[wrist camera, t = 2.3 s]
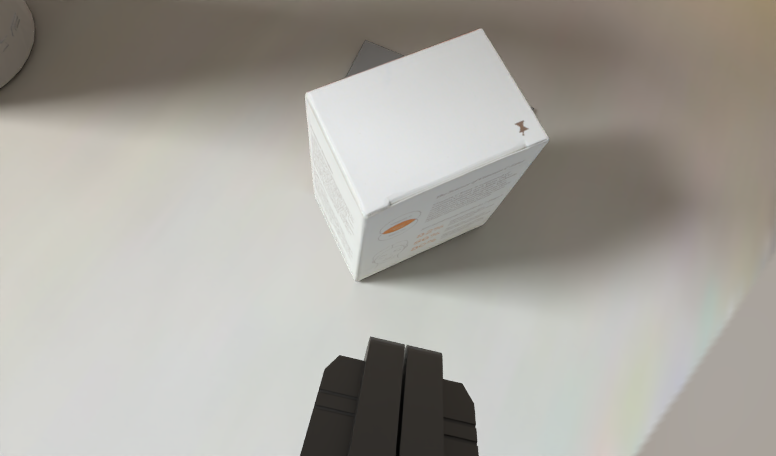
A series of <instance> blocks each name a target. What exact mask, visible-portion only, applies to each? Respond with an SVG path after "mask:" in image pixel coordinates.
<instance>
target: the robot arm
mask: <svg viewBox="0 0 776 456" xmlns="http://www.w3.org/2000/svg"><path fill="white" fill-rule="evenodd" d="M34 33H35V26H34V21H33V16H32V13H31V12H30V10H29V8H28V6H27V4H26V2H25V1H24V0H0V88H1V87H2V86H4V85H5V84H7V83H8V82H9V81H10V80H11V79H12V78H13V77H14V76H15V75H16V74H17V73H18V72H19V71H20V69H21V68H22V66H23V65H24V63H25V62H26V60H27V58H28V57H29V55H30V52H31V49H32V46H33V43H34ZM404 350H405V351H404ZM475 425H476V421H475V409H474V403H473V401H472V399H471V398H470V396H469V394H468V393H467V391H466V389H465V387H464V386H463V384H462V383H458V382H453V381H449V380H445V379H443V363H442V353H439V352H435V351H431V350H426V349H422V348H418V347H414V346H409V345H407V346H406V348H405V345H404V344H400V343H396V342H391V341H387V340H383V339H379V338H374V337H370V339H369V343H368V346H367V350H366V354H365V358H364V361H362V360H358V359H354V358H349V357H345V356H341V355H339V356H338V357H337V358H336V359H335V360H334V361H333V362H332V363H331V364H330V365H329V366H328V367H327V368H326V369H325V370H324V374H323V377H322V381H321V384H320V388H319V392H318V395H317V398H316V402H315V405H314V409H313V412H312V416H311V419H310V423H309V426H308V430H307V433H306V437H305V440H304V444H303V447H302V451H301V454H300V456H479V455H478V446H477V432H476V428H475Z"/></svg>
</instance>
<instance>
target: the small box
mask: <svg viewBox="0 0 776 456" xmlns="http://www.w3.org/2000/svg"><path fill="white" fill-rule="evenodd" d="M305 104H306V114H307V124H308V134H309V147H310V157H311V166H312V178H313V187H314V195H315V197H316V200H317V202H318V204H319V207H320V209H321V211H322V213H323V215H324V218H325V220H326V222H327V224H328V226H329V228H330V230H331V232H332V235H333V237H334V239H335V241H336V243H337V245H338V247H339V250H340V252H341V254H342V256H343V258H344V260H345V262H346V264H347V266H348V268H349V270H350V272H351V274H352V277H353V279H354V280H355V281H356V282H358V281H360V280H362V279H364V278H366V277H368V276H371V275H373V274H375V273H377V272H379V271H382V270H384V269H386V268H388V267H390V266H393V265H395V264H397V263H399V262H401V261H404V260H406V259H408V258H410V257H412V256H415V255H417V254H419V253H421V252H423V251H426V250H428V249H430V248H432V247H435V246H437V245H439V244H441V243H443V242H446V241H448V240H450V239H452V238H454V237H457V236H459V235H461V234H463V233H465V232H468V231H470V230H472V229H474V228H477V227H479V226H482V225H483V224H485V222H486V221H487V220H488V219H489V217H490V216H491V215H492V214H493V213H494V211H495V210H496V209H497V207H498V206H499V205H500V203H501V202H502V201H503V199H504V198H505V197H506V196H507V194H508V193H509V192H510V191H511V189H512V188H513V187H514V185H515V184H516V183H517V181H518V180H519V179H520V178H521V176H522V175H523V174H524V172H525V171H526V170H527V168H528V167H529V166H530V164H531V163H532V162H533V161H534V159H535V158H536V157H537V155H538V154H539V153H540V152H541V150H542V149H543V148H544V146H545V145H546V144H547V143H548V141H549V137H548V136H547V134H546V132H545V131H544V129H543V127H542V126H541V124H540V122H539V121H538V119H537V117H536V115H535V114H534V112H533V111H532V109H531V107H530V106H529V104H528V102H527V101H526V99H525V97H524V96H523V94H522V92H521V91H520V89H519V87H518V86H517V84H516V83H515V81H514V79H513V78H512V76H511V74H510V73H509V71H508V69H507V68H506V66H505V64H504V63H503V61H502V59H501V58H500V56H499V55H498V53H497V51H496V50H495V48H494V46H493V45H492V43H491V42H490V40H489V39H488V37H487V36H486V34H485V32H484V30H483V29H481V28H479V29H477V30H474V31H471V32H469V33H466V34H463V35H460V36H458V37H455V38H452V39H449V40H447V41H444V42H441V43H439V44H436V45H433V46H431V47H428V48H425V49H423V50H420V51H417V52H415V53H412V54H409V55H407V56H404V57H401V58H398V59H396V60H393V61H390V62H387V63H385V64H382V65H379V66H377V67H374V68H371V69H369V70H366V71H363V72H360V73H358V74H355V75H352V76H349V77H347V78H344V79H341V80H339V81H336V82H333V83H330V84H327V85H325V86H322V87H319V88H317V89H314V90H311V91H308V92H306V94H305Z"/></svg>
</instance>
